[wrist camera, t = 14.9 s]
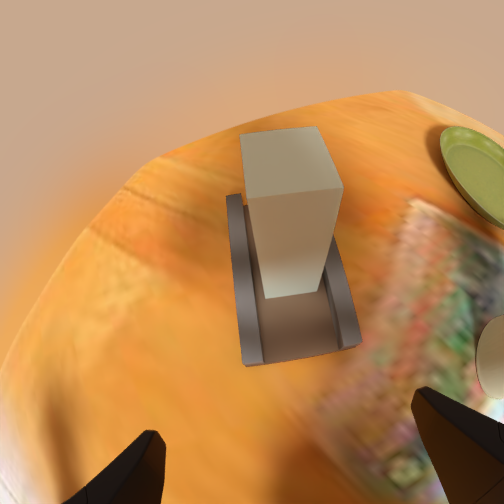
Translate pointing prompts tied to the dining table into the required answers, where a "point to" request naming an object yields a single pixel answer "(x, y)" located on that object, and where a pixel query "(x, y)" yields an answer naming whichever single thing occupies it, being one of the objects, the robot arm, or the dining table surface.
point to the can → (491, 358)
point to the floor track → (287, 304)
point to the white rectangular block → (290, 206)
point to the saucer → (476, 170)
